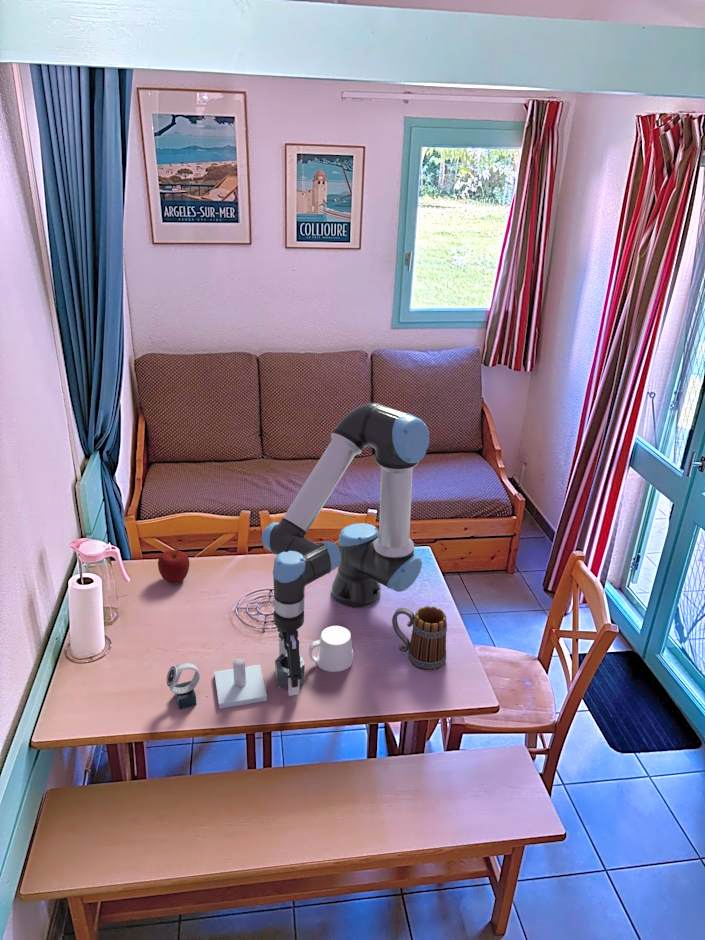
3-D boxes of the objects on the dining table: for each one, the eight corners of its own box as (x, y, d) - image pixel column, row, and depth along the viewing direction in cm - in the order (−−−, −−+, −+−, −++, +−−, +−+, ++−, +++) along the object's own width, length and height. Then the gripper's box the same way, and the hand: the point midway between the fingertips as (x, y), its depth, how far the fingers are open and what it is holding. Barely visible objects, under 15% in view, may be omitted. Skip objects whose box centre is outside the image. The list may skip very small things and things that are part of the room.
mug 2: (449, 651, 203) (454, 608, 196) (441, 676, 194) (445, 631, 187) (396, 638, 207) (399, 595, 201) (385, 661, 198) (388, 617, 192)
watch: (167, 696, 184) (163, 663, 179) (198, 688, 187) (195, 655, 182) (171, 711, 180) (167, 677, 175) (203, 703, 183) (200, 669, 178)
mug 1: (349, 623, 198) (356, 642, 191) (348, 650, 202) (355, 669, 195) (306, 629, 195) (312, 648, 188) (306, 656, 200) (311, 676, 193)
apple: (187, 589, 225) (184, 562, 220) (156, 588, 225) (153, 561, 220) (193, 572, 233) (191, 545, 229) (163, 571, 233) (161, 544, 229)
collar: (300, 668, 195) (300, 651, 192) (306, 687, 189) (306, 669, 186) (274, 672, 193) (273, 655, 191) (278, 691, 187) (278, 673, 184)
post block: (260, 668, 194) (259, 643, 191) (267, 700, 184) (266, 674, 180) (214, 675, 192) (212, 650, 188) (219, 708, 181) (217, 682, 177)
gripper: (266, 583, 191) (267, 647, 200) (282, 643, 169) (283, 712, 178) (294, 579, 192) (294, 643, 202) (314, 639, 171) (313, 707, 180)
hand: (288, 675), depth 190 cm, fingers open, 13 cm apart
